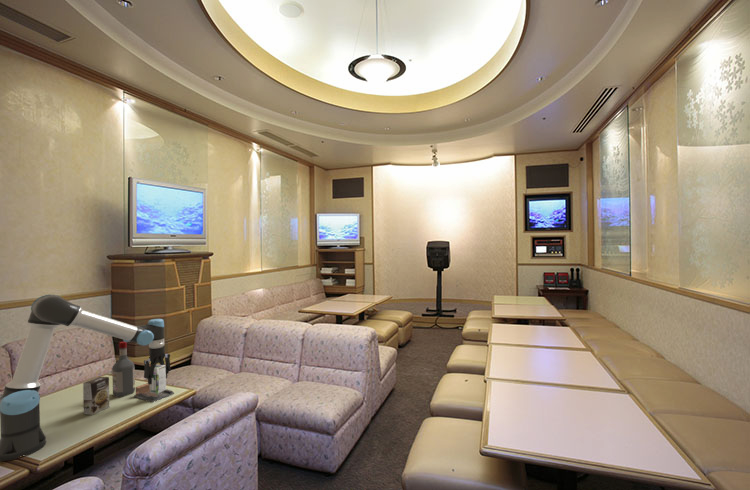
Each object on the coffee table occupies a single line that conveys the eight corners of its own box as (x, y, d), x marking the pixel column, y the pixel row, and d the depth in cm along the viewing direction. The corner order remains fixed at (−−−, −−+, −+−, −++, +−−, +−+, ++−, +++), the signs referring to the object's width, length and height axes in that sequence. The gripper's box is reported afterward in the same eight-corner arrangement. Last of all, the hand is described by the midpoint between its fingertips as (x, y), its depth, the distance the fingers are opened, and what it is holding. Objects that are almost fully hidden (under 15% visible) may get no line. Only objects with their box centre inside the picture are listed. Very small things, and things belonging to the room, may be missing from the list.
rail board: (152, 402, 190) (152, 393, 190) (133, 396, 198) (133, 387, 198) (174, 393, 200) (173, 385, 200) (155, 388, 209) (155, 380, 209)
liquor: (119, 398, 196) (117, 345, 196) (111, 395, 201) (110, 343, 201) (136, 392, 204) (135, 341, 204) (128, 389, 209) (127, 339, 209)
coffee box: (93, 415, 177) (92, 383, 177) (83, 414, 178) (82, 382, 178) (110, 406, 186) (109, 376, 186) (100, 406, 187) (99, 376, 187)
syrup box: (149, 393, 195) (148, 367, 195) (159, 388, 201) (158, 363, 201) (157, 394, 194) (156, 368, 194) (166, 389, 199) (165, 364, 199)
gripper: (142, 352, 187) (144, 395, 187) (177, 342, 204) (178, 382, 204) (135, 350, 190) (136, 392, 190) (169, 341, 207) (170, 380, 208)
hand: (158, 387), depth 197 cm, fingers closed on syrup box, 6 cm apart
